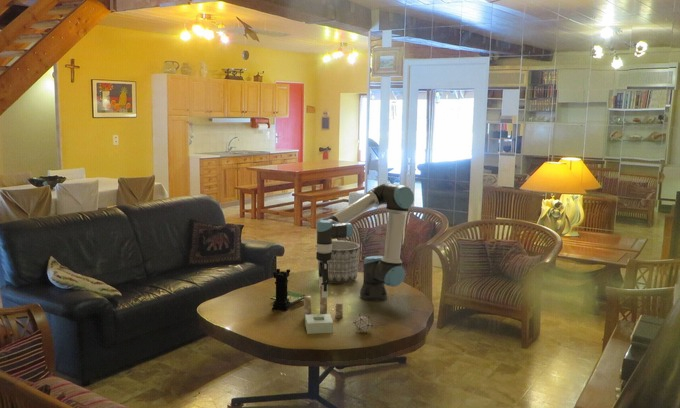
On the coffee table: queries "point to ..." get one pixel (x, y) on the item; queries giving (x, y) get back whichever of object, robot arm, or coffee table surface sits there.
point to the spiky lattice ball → (362, 324)
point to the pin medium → (307, 305)
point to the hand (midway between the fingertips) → (323, 293)
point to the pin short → (339, 310)
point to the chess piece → (281, 290)
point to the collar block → (318, 323)
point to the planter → (343, 262)
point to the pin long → (323, 303)
